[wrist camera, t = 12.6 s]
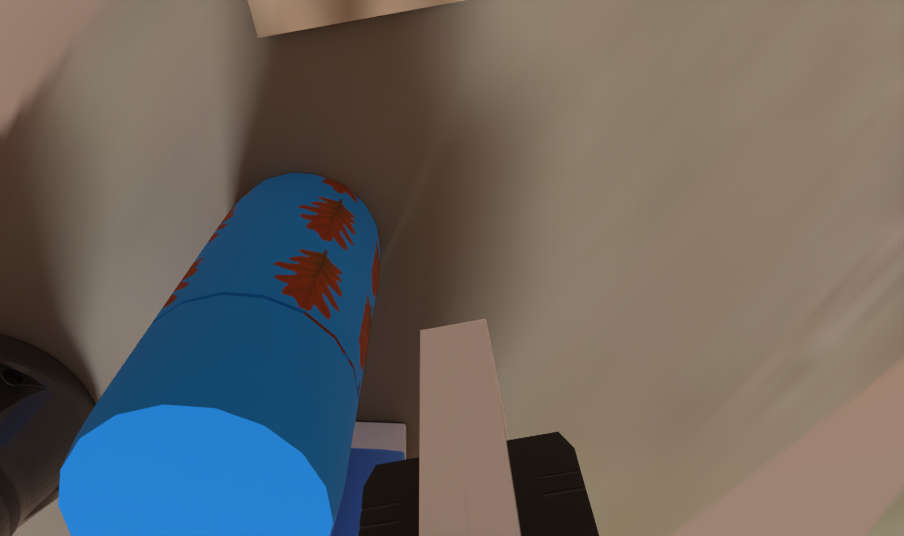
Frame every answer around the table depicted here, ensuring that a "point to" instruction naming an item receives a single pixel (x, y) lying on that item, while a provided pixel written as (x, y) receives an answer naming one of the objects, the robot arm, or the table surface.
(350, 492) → the string lights box
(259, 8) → the board
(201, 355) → the thermos
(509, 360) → the table surface
